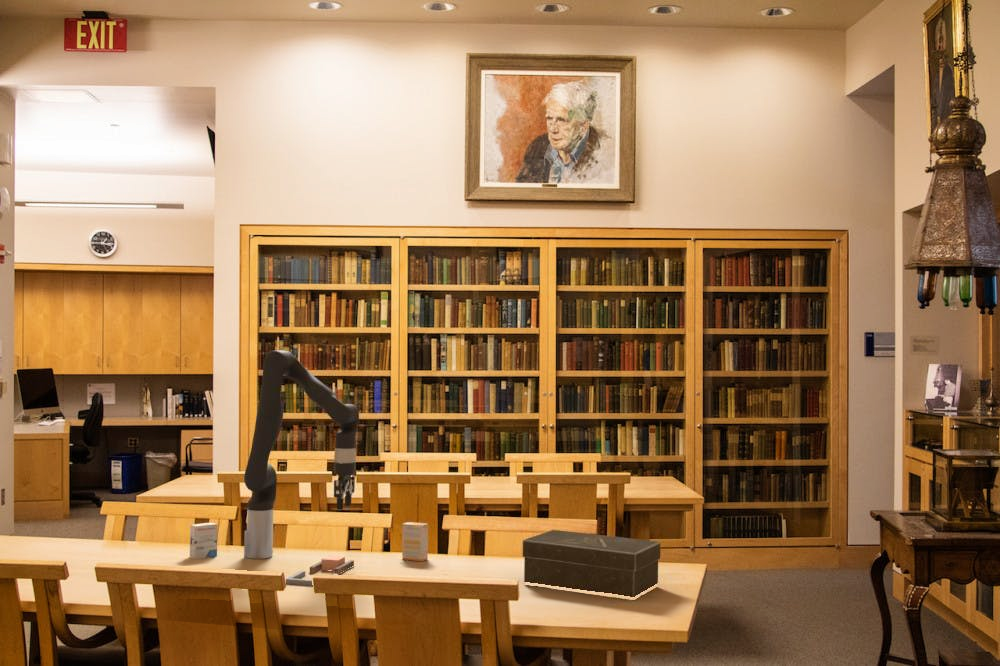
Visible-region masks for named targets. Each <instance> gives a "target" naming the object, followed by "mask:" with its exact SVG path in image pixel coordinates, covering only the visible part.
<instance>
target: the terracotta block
mask: <svg viewBox="0 0 1000 666" xmlns="http://www.w3.org/2000/svg"><path fill="white" fill-rule="evenodd" d="M321 561H322V569H321V571H323V570H332V571H331V572H334V569H335V568H337V567H339V566H340V565H342V564H344V563H346V556H337V555H328V556H326V557H324V558H321Z"/></svg>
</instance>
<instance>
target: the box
mask: <svg viewBox="0 0 1000 666" xmlns="http://www.w3.org/2000/svg"><path fill="white" fill-rule="evenodd" d="M661 545H662V544H661V541H656V540H647V539H639V538H638V539H636V538H629V537H622V536H613V535H612V536H611V535H603V534H594V533H584V532H576V531H568V530H559V529H552V530H548V531H545V532H543V533H540V534H536V535H534V536H531V537H527V538H525V539H523V540H522V557H523V558H524V566H523V567H524V572H523V573H524V574H523V579H524V580H523V583H524V582H530V583H538V584H545V585H551V586H559V587H566V588H572V589H580V590H587V591H595V592H604V593H612V594H618V595H624V596H630V597H635V596H636V595H638V594H640V593H641V592H643V591H645V590H647V589H648V588H650V587H652V586H654V585H655V584H657V583H658V584H659V561H660V560H661Z"/></svg>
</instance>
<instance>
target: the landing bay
mask: <svg viewBox="0 0 1000 666" xmlns="http://www.w3.org/2000/svg"><path fill="white" fill-rule="evenodd" d="M332 574H338V573H334V572H332ZM305 576H306V571H305V570H300V571H298V572H296V573H294V574H292V575H290V576H288V577H286V578H285V579H286V583H287V584H286V585H295V586H296V585H298V586H310V587H311V586H312V580H313V579H306V578H303V577H305ZM312 587H313V586H312Z"/></svg>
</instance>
